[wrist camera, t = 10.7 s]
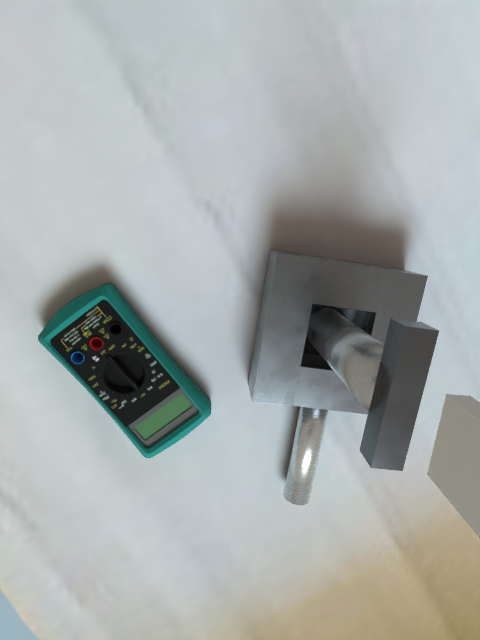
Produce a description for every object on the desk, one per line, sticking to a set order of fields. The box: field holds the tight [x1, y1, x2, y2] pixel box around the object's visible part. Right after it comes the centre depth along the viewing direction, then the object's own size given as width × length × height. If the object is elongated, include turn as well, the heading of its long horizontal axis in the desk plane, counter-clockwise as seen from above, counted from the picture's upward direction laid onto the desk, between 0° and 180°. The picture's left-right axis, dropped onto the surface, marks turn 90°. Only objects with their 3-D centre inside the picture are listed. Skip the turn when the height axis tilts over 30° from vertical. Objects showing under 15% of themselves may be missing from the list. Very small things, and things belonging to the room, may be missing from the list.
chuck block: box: [248, 250, 428, 505], centre depth 37 cm, size 22×12×4 cm, turn 171°
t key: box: [306, 308, 439, 471], centre depth 30 cm, size 8×4×16 cm, turn 171°
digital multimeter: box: [38, 283, 211, 458], centre depth 36 cm, size 7×15×3 cm, turn 36°
